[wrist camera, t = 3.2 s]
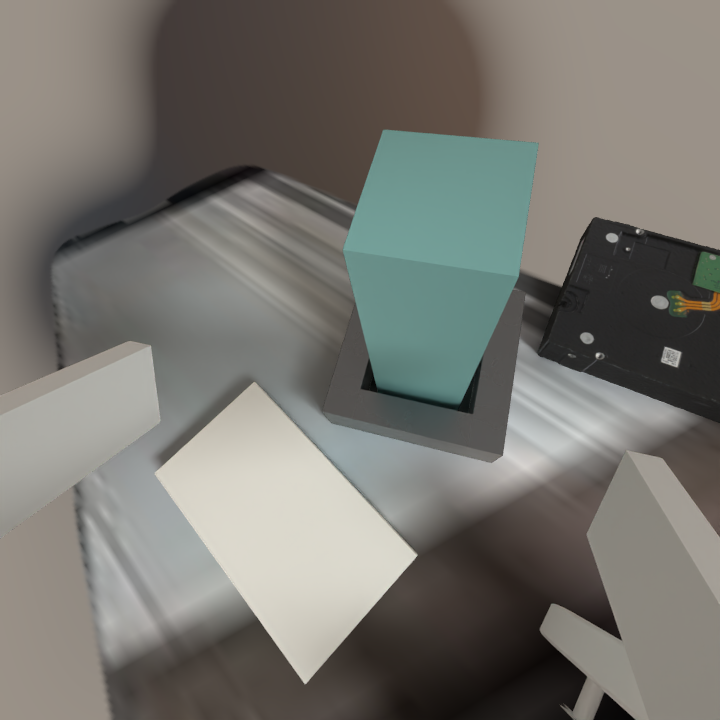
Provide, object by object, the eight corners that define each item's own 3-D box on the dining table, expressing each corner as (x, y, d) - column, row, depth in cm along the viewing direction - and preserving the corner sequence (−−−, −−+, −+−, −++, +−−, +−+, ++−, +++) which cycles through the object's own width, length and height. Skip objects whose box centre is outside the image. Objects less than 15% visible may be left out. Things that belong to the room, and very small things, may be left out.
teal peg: (469, 341, 26) (538, 142, 12) (456, 412, 24) (518, 276, 10) (396, 327, 27) (383, 129, 13) (378, 395, 25) (342, 250, 12)
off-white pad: (416, 552, 22) (417, 555, 20) (312, 672, 20) (305, 684, 19) (262, 388, 26) (254, 381, 25) (168, 475, 25) (154, 473, 24)
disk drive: (532, 361, 26) (802, 458, 22) (545, 344, 23) (854, 451, 19) (576, 241, 29) (820, 307, 25) (592, 213, 26) (868, 282, 22)
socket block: (513, 315, 26) (525, 291, 24) (491, 462, 23) (502, 455, 20) (370, 290, 28) (366, 266, 26) (331, 423, 25) (321, 411, 22)
